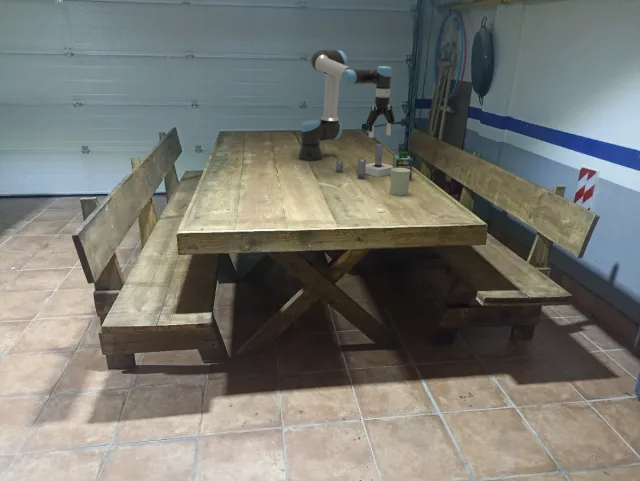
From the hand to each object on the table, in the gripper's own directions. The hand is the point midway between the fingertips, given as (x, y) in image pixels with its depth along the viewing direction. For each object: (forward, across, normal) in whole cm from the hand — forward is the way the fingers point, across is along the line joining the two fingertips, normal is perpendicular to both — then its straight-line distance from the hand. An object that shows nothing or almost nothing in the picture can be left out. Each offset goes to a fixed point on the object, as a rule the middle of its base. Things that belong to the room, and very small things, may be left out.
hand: (379, 136), depth 269 cm
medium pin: (+20, -16, -4) cm, 26 cm away
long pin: (+21, 0, -1) cm, 21 cm away
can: (+20, -21, -36) cm, 46 cm away
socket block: (+21, 0, -1) cm, 21 cm away
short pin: (+21, -16, +14) cm, 30 cm away
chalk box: (+21, +2, -17) cm, 27 cm away
